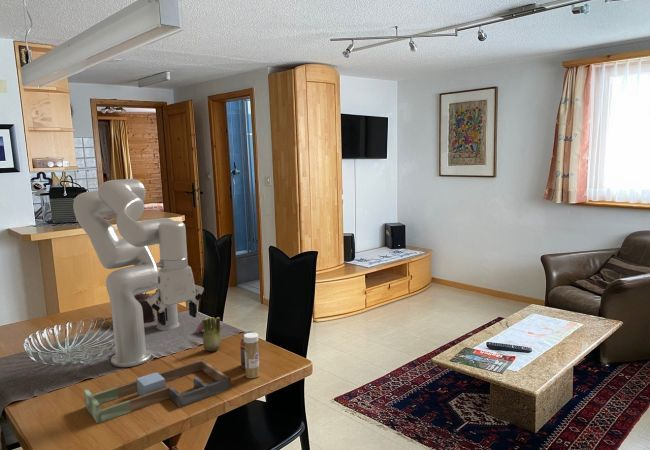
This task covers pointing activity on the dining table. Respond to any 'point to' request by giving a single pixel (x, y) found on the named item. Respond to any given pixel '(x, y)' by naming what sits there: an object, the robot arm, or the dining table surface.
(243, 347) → the supplement bottle
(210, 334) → the fennel bulb
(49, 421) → the dining table surface
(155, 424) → the dining table surface
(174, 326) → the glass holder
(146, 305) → the brown storage container
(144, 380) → the block
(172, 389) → the box
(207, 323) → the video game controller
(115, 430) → the dining table surface
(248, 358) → the sprinkles bottle
